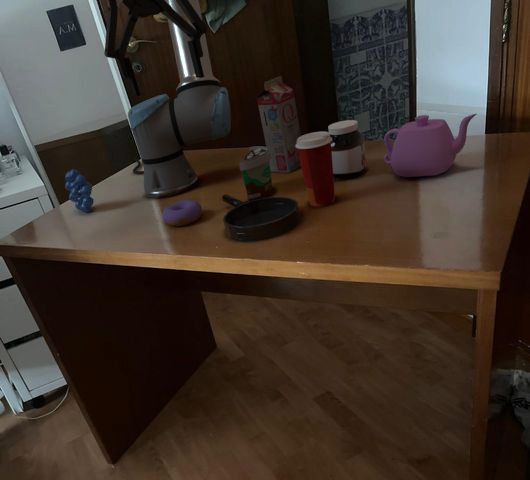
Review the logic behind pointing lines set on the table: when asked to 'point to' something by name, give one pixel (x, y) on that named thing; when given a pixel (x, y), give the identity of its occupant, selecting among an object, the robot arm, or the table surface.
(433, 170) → the teapot
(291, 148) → the juice carton
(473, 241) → the table surface
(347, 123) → the spread jar
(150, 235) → the table surface
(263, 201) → the pan
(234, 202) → the pan handle
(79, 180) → the grapes
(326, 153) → the paper cup
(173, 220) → the donut
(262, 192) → the food container
